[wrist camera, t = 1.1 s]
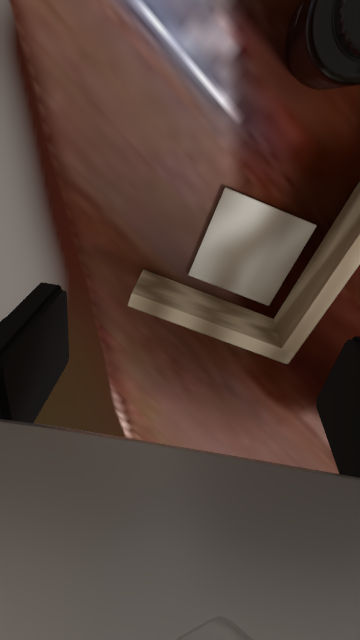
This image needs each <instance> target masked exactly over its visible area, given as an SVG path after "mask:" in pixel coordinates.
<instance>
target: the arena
mask: <svg viewBox="0 0 360 640" xmlns="http://www.w3.org/2000/svg"><path fill="white" fill-rule="evenodd" d="M315 228H316V225H315V224H313V223H310V222H308V221H306V220H303V219H301V218H298V217H296V216H294V215H291V214H289V213H286V212H284V211H282V210H279V209H277V208H275V207H272V206H270V205H267V204H265V203H263V202H260V201H258V200H255V199H253V198H251V197H248V196H246V195H243V194H241V193H239V192H236V191H234V190H232V189H229V188H227V187H225V189H224V191H223V193H222V196H221V198H220V200H219V203H218V205H217V208H216V210H215V212H214V215H213V217H212V219H211V222H210V224H209V226H208V229H207V231H206V234H205V236H204V238H203V241H202V243H201V245H200V248H199V250H198V253H197V255H196V257H195V260H194V262H193V264H192V267H191V269H190V272H189V274H188V275H189V276H192V277H194V278H197V279H200V280H202V281H205V282H207V283H210V284H213V285H215V286H218V287H220V288H223V289H226V290H228V291H231V292H233V293H236V294H239V295H241V296H244V297H247V298H249V299H252V300H254V301H257V302H260V303H262V304H265V305H267V306H269V305H270V303H271V301H272V300H273V298H274V296H275V295H276V293H277V291H278V290H279V288H280V286H281V285H282V283H283V281H284V280H285V278H286V276H287V275H288V273H289V271H290V270H291V268H292V266H293V265H294V263H295V261H296V260H297V258H298V256H299V255H300V253H301V251H302V250H303V248H304V246H305V245H306V243H307V241H308V240H309V238H310V236H311V235H312V233H313V231H314V230H315ZM359 264H360V182H359V183H358V185H357V186H356V188H355V189H354V191H353V193H352V194H351V196H350V197H349V199H348V201H347V202H346V204H345V205H344V207H343V209H342V210H341V212H340V213H339V215H338V217H337V218H336V220H335V221H334V223H333V225H332V226H331V228H330V229H329V231H328V233H327V234H326V236H325V237H324V239H323V241H322V242H321V244H320V245H319V247H318V249H317V250H316V252H315V253H314V255H313V257H312V258H311V260H310V261H309V263H308V265H307V266H306V268H305V269H304V271H303V273H302V274H301V276H300V277H299V279H298V281H297V282H296V284H295V285H294V287H293V289H292V290H291V292H290V293H289V295H288V297H287V298H286V300H285V302H284V303H283V305H282V306H281V308H280V310H279V311H278V313H277V314H276V316H275V318H274V319H273V318H270V317H267V316H265V315H262V314H259V313H257V312H254V311H252V310H249V309H246V308H244V307H241V306H238V305H236V304H233V303H231V302H228V301H225V300H223V299H220V298H217V297H215V296H212V295H209V294H207V293H204V292H202V291H199V290H196V289H194V288H191V287H188V286H186V285H183V284H180V283H178V282H175V281H173V280H170V279H167V278H165V277H162V276H159V275H157V274H154V273H152V272H149V271H146V270H144V269H143V271H142V273H141V275H140V277H139V279H138V281H137V283H136V285H135V287H134V290H133V292H132V294H131V297H130V300H129V303H128V306H129V307H132V308H134V309H137V310H140V311H143V312H145V313H148V314H151V315H154V316H156V317H159V318H162V319H165V320H167V321H170V322H173V323H175V324H178V325H181V326H184V327H186V328H189V329H192V330H195V331H197V332H200V333H203V334H206V335H208V336H211V337H214V338H216V339H219V340H222V341H225V342H227V343H230V344H233V345H236V346H238V347H241V348H244V349H247V350H249V351H252V352H255V353H258V354H260V355H263V356H266V357H268V358H271V359H274V360H277V361H279V362H282V363H285V364H289V362H290V361H291V359H292V358H293V357H294V355H295V354H296V352H297V351H298V350H299V348H300V347H301V345H302V344H303V343H304V341H305V340H306V338H307V337H308V336H309V334H310V333H311V331H312V330H313V329H314V327H315V326H316V324H317V323H318V322H319V320H320V319H321V317H322V316H323V315H324V313H325V312H326V310H327V309H328V308H329V306H330V305H331V303H332V302H333V301H334V299H335V298H336V296H337V295H338V294H339V292H340V291H341V289H342V288H343V287H344V285H345V284H346V282H347V281H348V280H349V278H350V277H351V275H352V274H353V273H354V271H355V270H356V268H357V267H358V266H359Z"/></svg>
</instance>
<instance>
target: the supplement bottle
mask: <svg viewBox="0 0 360 640" xmlns="http://www.w3.org/2000/svg"><path fill="white" fill-rule="evenodd" d="M286 55H287V60H288V64H289V67H290V69H291V71H292V73H293V75H294V76H295V77H296V78H297V80H298V81H299V82H301V83H302V84H303V85H305V86H307V87H310V88H313V89H318V90H325V89H334V88H340V87H347V86H353V85H359V84H360V0H302V1H301V3H300V4H299V6H298V7H297V9H296V11H295V13H294V15H293V17H292V20H291V22H290V25H289V29H288V33H287V39H286Z"/></svg>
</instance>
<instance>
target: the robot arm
mask: <svg viewBox="0 0 360 640" xmlns="http://www.w3.org/2000/svg"><path fill="white" fill-rule="evenodd" d="M68 359H69V343H68V317H67V294H66V291H63V290H62V289H61V287H60V286H59V285H54V284H48V283H40V284H39V285H38V286H37V287H36V288H35V289H34V290H33V291H32V292H31V293H30V294H29V295H28V296H27V297H26V298H25V299H24V300H23V301H22V302H21V303H20V304H19V305H18V306H17V307H16V308H15V309H14V310H13V311H12V312H11V313H10V314H9V315H8V316H7V317H6V318H4V319H3V320H2V321H1V322H0V640H360V337H358V336H356V337H354V338H352V340H347V341H346V343H345V344H344V346H343V348H342V350H341V352H340V354H339V356H338V358H337V360H336V362H335V364H334V366H333V368H332V370H331V372H330V374H329V376H328V378H327V380H326V382H325V384H324V386H323V388H322V390H321V392H320V393H319V395H318V398H317V402H316V406H317V410H318V413H319V416H320V419H321V422H322V424H323V427H324V430H325V433H326V436H327V439H328V442H329V445H330V448H331V451H332V454H333V456H334V459H335V462H336V465H337V468H338V471H339V474H335V473H330V472H324V471H318V470H312V469H307V468H301V467H295V466H289V465H284V464H278V463H272V462H267V461H261V460H255V459H249V458H243V457H237V456H231V455H225V454H219V453H214V452H208V451H202V450H196V449H190V448H184V447H178V446H172V445H166V444H160V443H154V442H148V441H142V440H135V439H129V438H123V437H117V436H111V435H105V434H99V433H92V432H86V431H80V430H73V429H68V428H61V427H55V426H48V425H41V424H35V423H33V422H34V421H35V419H36V417H37V415H38V414H39V412H40V410H41V409H42V407H43V405H44V403H45V402H46V400H47V398H48V397H49V395H50V393H51V391H52V390H53V388H54V386H55V384H56V383H57V381H58V379H59V377H60V376H61V374H62V372H63V371H64V369H65V367H66V365H67V363H68Z"/></svg>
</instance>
